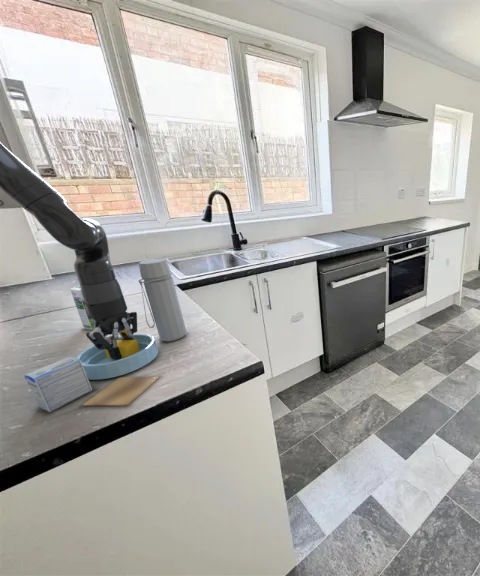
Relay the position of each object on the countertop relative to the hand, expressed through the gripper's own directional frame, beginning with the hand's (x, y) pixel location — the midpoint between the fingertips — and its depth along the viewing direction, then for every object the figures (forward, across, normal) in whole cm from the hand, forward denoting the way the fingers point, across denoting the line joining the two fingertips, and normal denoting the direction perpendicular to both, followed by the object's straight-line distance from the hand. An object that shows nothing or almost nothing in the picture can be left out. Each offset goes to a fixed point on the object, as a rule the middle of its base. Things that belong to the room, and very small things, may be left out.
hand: (124, 354), depth 86 cm
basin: (+2, +2, +1) cm, 3 cm away
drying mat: (+2, +14, +11) cm, 18 cm away
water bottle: (+2, -12, +5) cm, 13 cm away
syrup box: (+2, -21, -26) cm, 34 cm away
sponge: (0, 0, 0) cm, 0 cm away
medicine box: (+2, +16, 0) cm, 17 cm away
